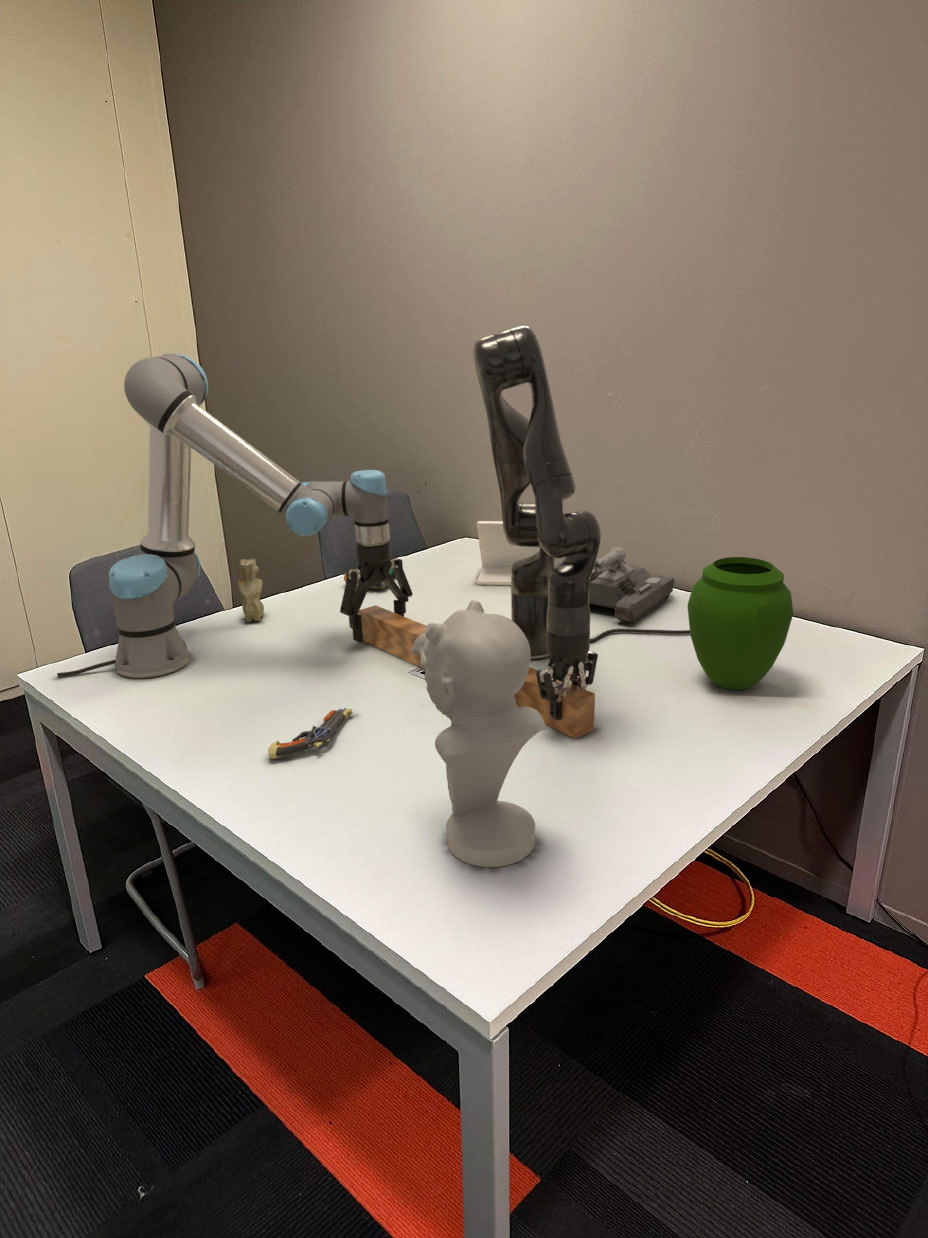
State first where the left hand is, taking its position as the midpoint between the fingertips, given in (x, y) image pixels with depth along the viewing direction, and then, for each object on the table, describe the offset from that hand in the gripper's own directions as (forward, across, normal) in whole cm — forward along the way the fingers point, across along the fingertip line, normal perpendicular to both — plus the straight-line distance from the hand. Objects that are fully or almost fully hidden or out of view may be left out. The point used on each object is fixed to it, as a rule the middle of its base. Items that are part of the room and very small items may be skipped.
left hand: (379, 634), depth 195 cm
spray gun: (+2, -25, -37) cm, 44 cm away
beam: (+2, 0, +29) cm, 29 cm away
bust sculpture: (+2, +35, +70) cm, 78 cm away
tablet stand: (+2, -58, -11) cm, 59 cm away
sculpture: (+2, +13, -35) cm, 37 cm away
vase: (+2, -37, +68) cm, 78 cm away
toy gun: (+2, +36, +29) cm, 46 cm away
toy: (+2, -57, +23) cm, 61 cm away
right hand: (-1, 0, +58) cm, 58 cm away
